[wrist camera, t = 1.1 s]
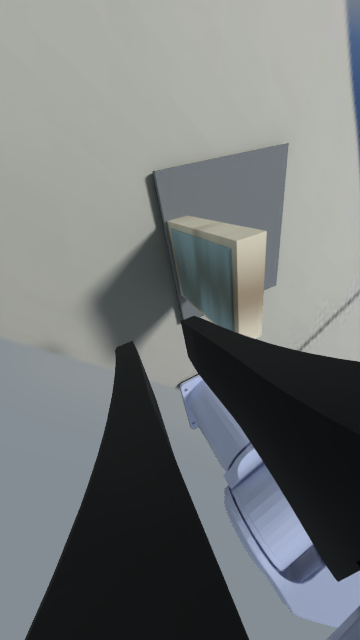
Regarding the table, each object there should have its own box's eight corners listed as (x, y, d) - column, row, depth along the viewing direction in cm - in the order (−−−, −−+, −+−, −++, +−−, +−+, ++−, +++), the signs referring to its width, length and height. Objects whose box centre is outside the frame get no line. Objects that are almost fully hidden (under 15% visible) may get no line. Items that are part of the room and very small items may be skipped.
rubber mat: (273, 283, 24) (276, 285, 23) (182, 321, 21) (184, 323, 20) (284, 143, 17) (288, 143, 17) (152, 171, 14) (154, 171, 14)
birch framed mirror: (197, 288, 19) (261, 335, 13) (179, 295, 19) (236, 347, 13) (187, 215, 16) (266, 230, 10) (165, 221, 15) (233, 241, 9)
